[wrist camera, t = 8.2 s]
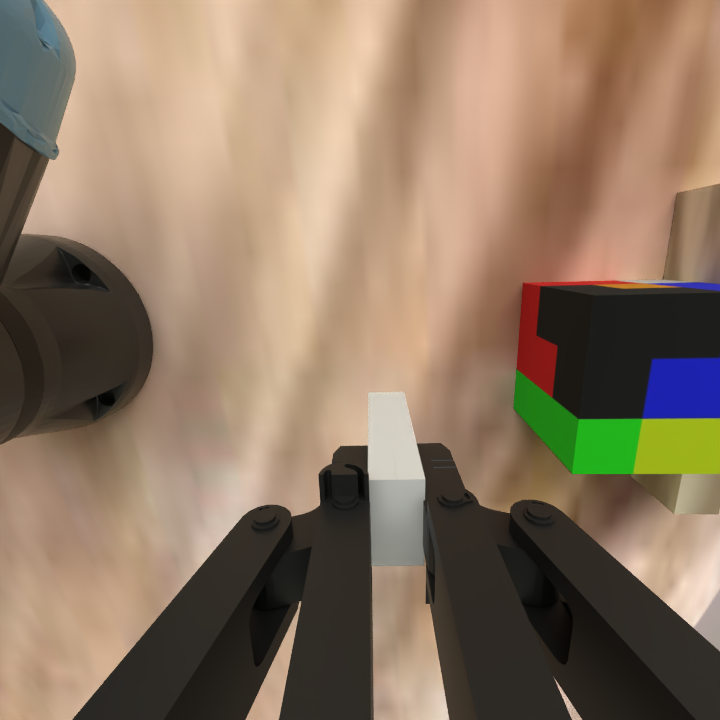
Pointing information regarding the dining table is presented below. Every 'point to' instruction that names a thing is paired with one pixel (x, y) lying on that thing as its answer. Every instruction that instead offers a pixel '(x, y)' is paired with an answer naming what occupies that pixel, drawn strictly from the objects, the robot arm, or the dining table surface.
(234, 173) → the dining table surface
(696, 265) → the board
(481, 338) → the dining table surface
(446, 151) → the dining table surface
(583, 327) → the puzzle toy
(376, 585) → the dining table surface
